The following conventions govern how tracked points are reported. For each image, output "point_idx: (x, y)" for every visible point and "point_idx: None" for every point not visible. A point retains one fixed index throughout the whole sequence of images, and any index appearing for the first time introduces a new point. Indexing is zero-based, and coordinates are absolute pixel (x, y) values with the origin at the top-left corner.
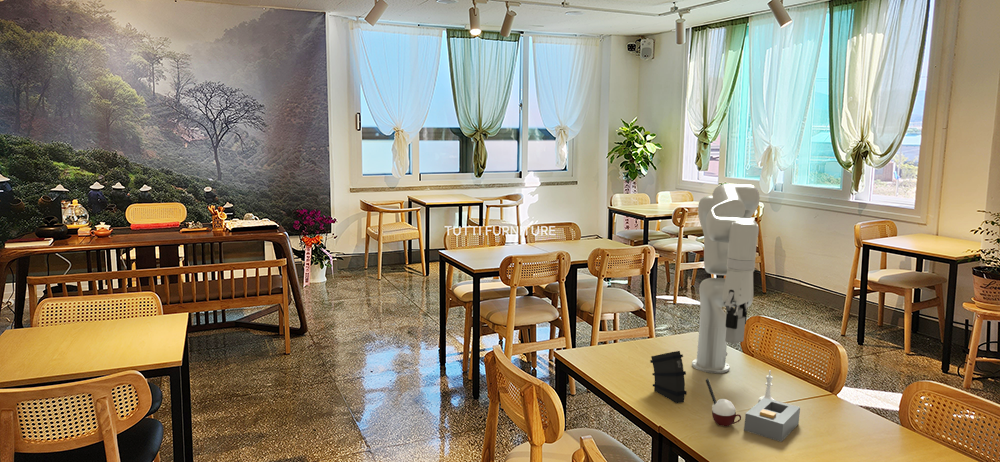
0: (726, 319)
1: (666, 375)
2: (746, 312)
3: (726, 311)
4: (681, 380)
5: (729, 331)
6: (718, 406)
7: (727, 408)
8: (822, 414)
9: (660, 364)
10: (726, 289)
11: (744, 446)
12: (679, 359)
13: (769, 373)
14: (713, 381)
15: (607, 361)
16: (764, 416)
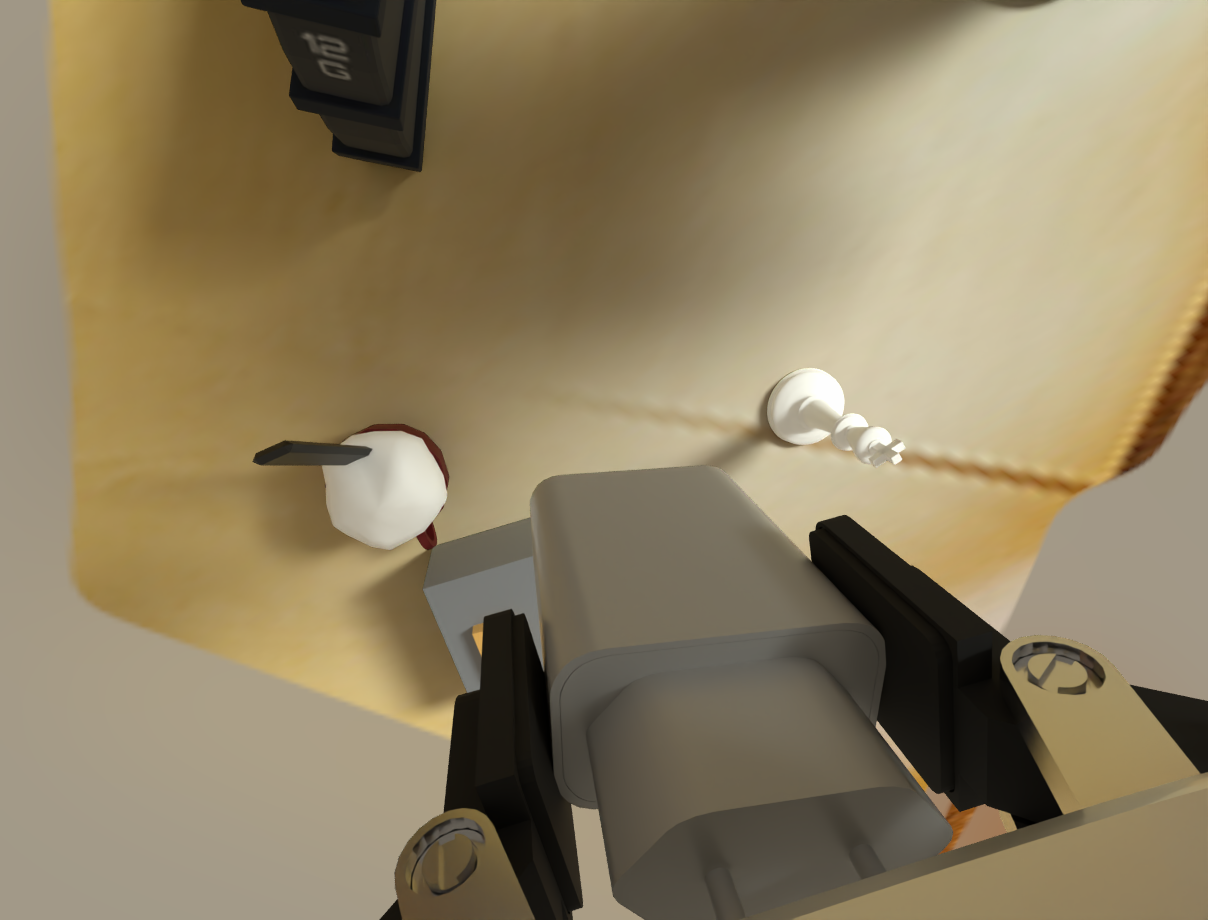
0: (483, 697)
1: None
2: (957, 795)
3: (399, 894)
4: (365, 131)
5: (538, 599)
6: (337, 491)
7: (360, 533)
8: None
9: None
10: None
11: (309, 635)
12: (337, 33)
13: (872, 462)
14: (843, 47)
15: None
16: (475, 647)
